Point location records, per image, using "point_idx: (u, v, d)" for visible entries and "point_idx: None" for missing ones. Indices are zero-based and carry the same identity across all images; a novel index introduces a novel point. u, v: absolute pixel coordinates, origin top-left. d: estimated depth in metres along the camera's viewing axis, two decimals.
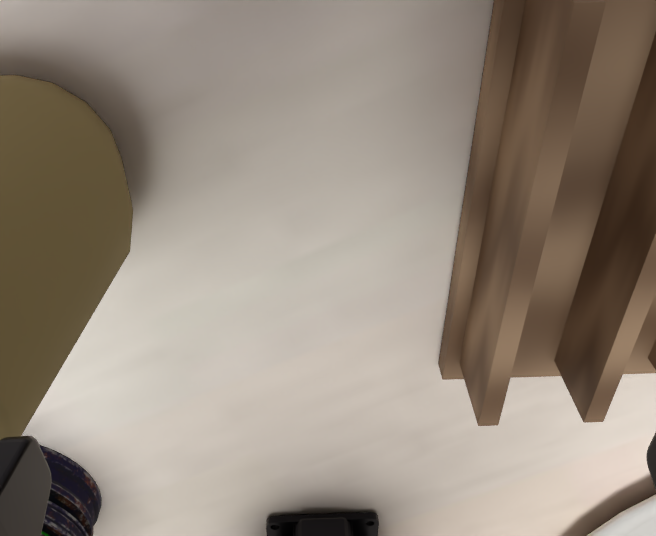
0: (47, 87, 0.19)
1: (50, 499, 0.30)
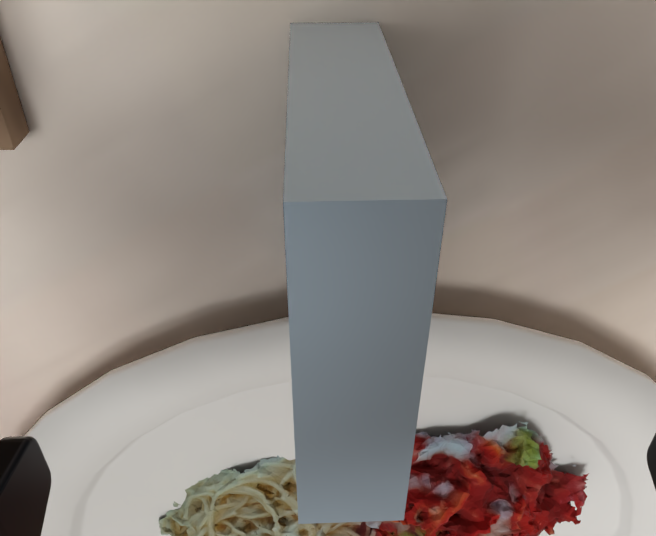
0: None
1: None
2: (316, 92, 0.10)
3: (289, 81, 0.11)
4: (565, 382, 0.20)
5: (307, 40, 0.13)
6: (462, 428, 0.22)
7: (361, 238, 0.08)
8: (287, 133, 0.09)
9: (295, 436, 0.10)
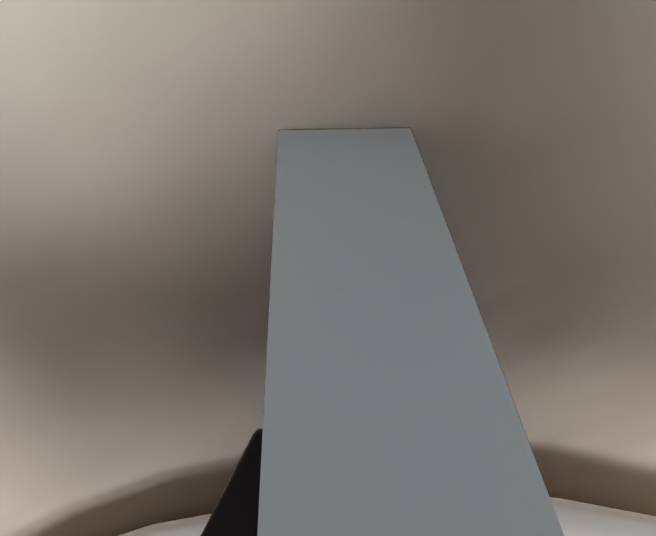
0: None
1: None
2: (320, 321, 0.06)
3: (272, 285, 0.06)
4: None
5: (303, 171, 0.08)
6: None
7: None
8: (263, 474, 0.04)
9: None
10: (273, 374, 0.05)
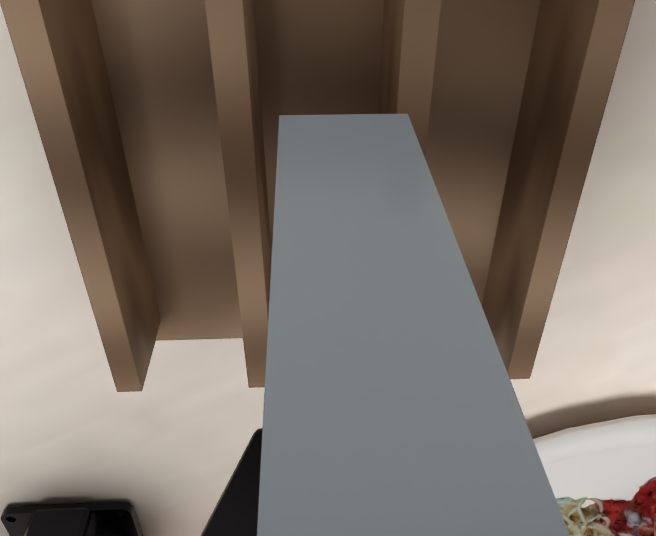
0: None
1: None
2: (320, 289, 0.06)
3: (274, 256, 0.06)
4: None
5: (303, 154, 0.08)
6: None
7: None
8: (265, 424, 0.05)
9: None
10: (274, 336, 0.05)
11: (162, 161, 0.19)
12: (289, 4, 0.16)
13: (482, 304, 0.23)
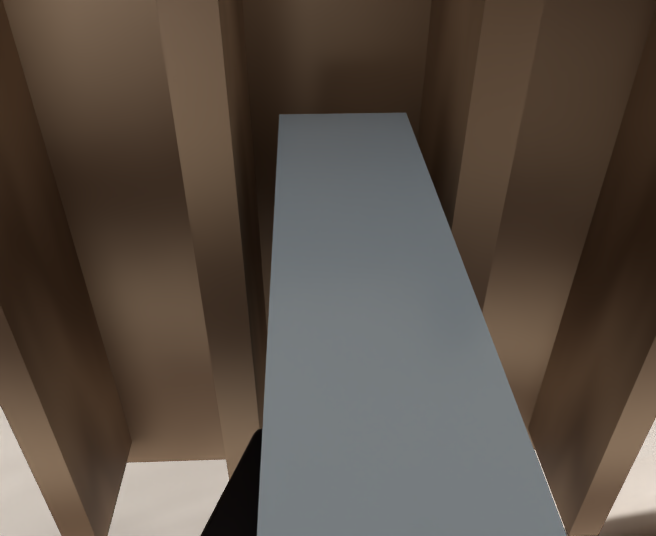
0: None
1: None
2: (318, 285, 0.06)
3: (274, 252, 0.07)
4: None
5: (303, 151, 0.09)
6: None
7: None
8: (266, 414, 0.05)
9: None
10: (274, 329, 0.06)
11: (128, 266, 0.15)
12: (295, 74, 0.12)
13: (530, 422, 0.19)
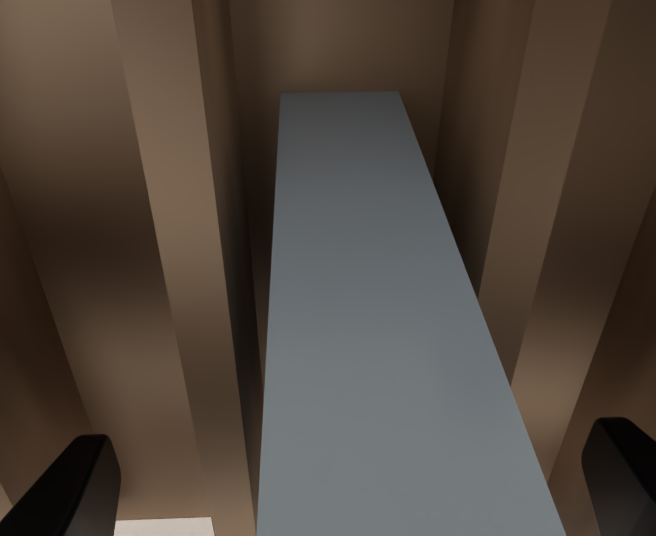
0: None
1: None
2: (317, 233, 0.07)
3: (276, 208, 0.07)
4: None
5: (303, 125, 0.09)
6: None
7: None
8: (269, 334, 0.05)
9: None
10: (277, 269, 0.06)
11: (107, 321, 0.13)
12: None
13: (550, 478, 0.17)
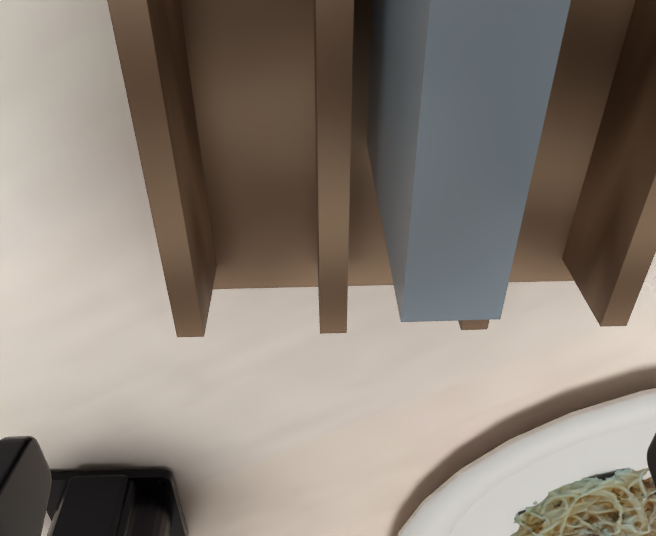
0: None
1: None
2: None
3: None
4: None
5: None
6: None
7: None
8: None
9: (412, 211, 0.11)
10: None
11: (230, 81, 0.17)
12: None
13: (564, 250, 0.21)
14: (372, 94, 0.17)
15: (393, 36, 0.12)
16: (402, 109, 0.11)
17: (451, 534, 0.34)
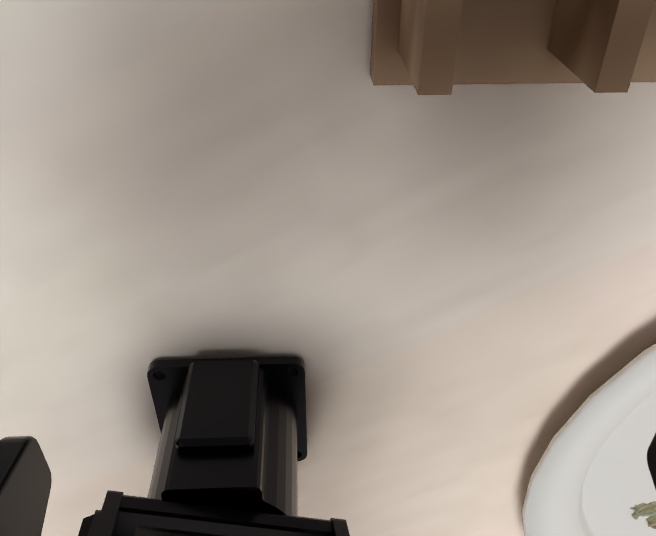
0: None
1: None
2: None
3: None
4: None
5: None
6: None
7: None
8: None
9: None
10: None
11: None
12: None
13: None
14: None
15: None
16: None
17: (600, 448, 0.30)
